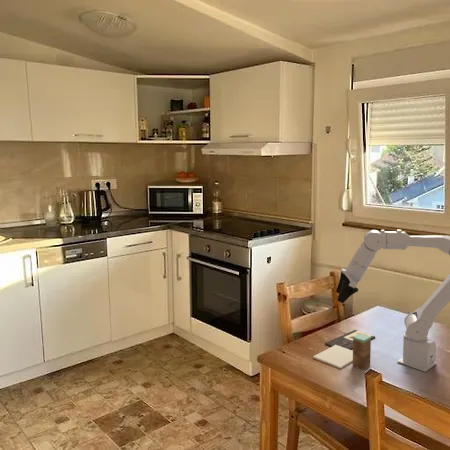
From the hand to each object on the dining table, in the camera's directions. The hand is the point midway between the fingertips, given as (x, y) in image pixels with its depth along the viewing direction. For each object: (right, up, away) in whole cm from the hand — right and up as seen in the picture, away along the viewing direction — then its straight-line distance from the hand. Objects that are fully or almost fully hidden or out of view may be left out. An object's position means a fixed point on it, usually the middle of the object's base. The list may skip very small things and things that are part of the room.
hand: (339, 297), depth 153 cm
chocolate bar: (+8, -19, +14) cm, 25 cm away
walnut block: (+6, -22, -5) cm, 23 cm away
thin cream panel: (0, -21, +2) cm, 21 cm away
